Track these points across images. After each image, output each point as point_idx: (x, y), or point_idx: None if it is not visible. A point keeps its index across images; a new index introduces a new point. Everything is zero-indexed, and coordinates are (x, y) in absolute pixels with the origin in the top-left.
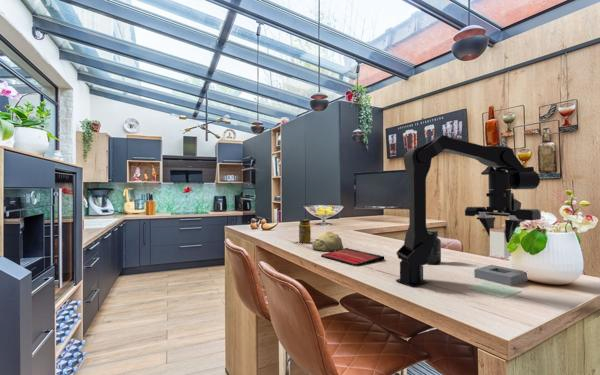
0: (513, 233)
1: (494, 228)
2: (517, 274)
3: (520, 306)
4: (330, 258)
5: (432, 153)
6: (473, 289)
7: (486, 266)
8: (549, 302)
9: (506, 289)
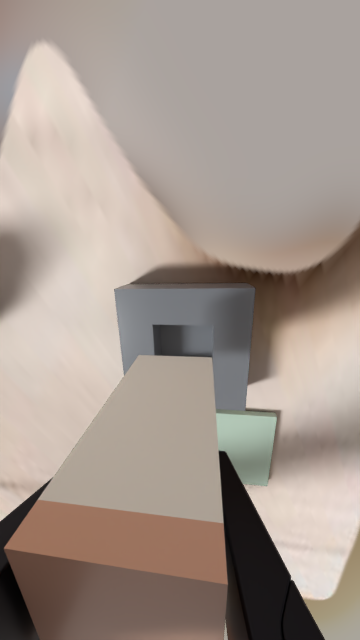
0: (275, 549)
1: (66, 635)
2: (246, 362)
3: (304, 490)
4: None
5: None
6: None
7: (123, 336)
8: (346, 428)
9: (247, 430)
